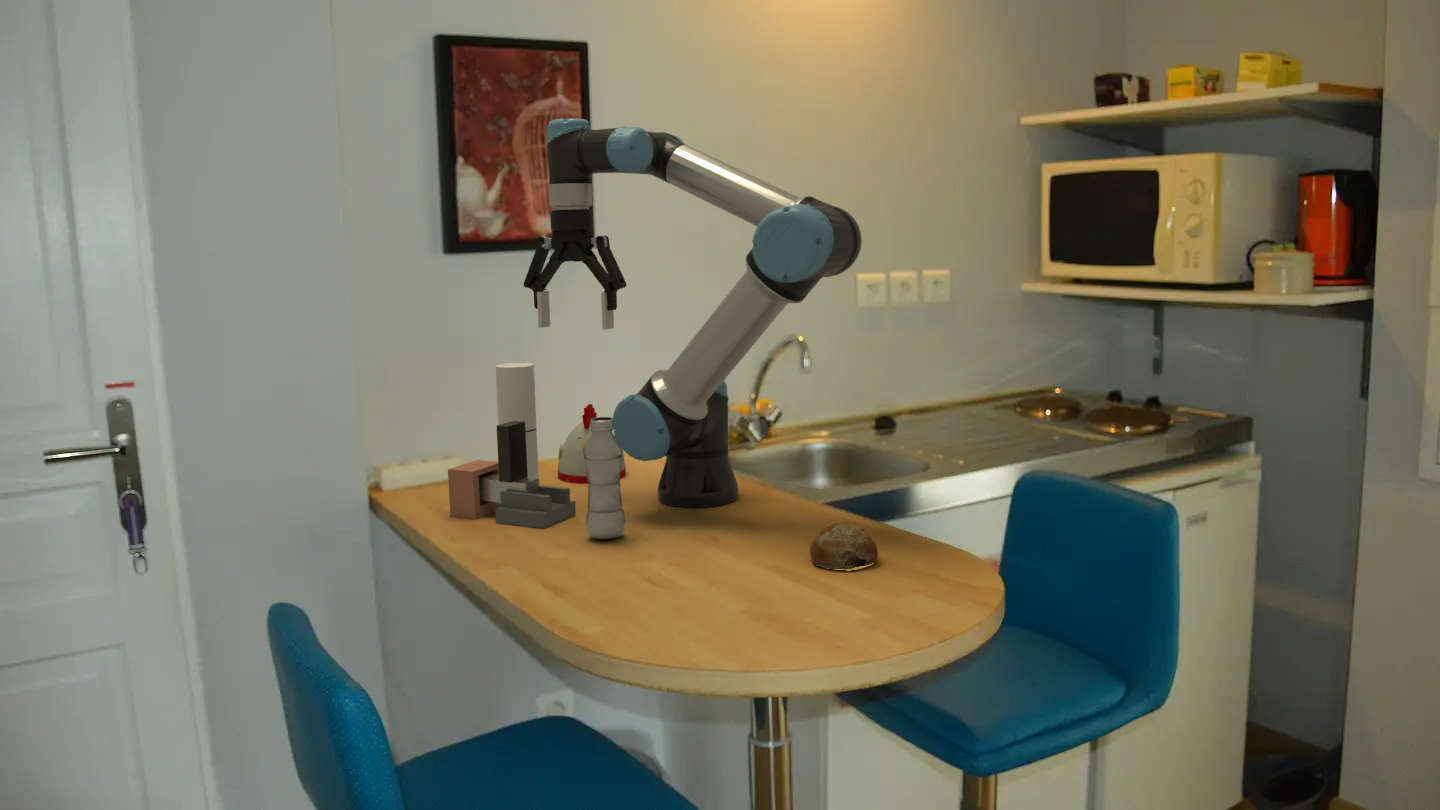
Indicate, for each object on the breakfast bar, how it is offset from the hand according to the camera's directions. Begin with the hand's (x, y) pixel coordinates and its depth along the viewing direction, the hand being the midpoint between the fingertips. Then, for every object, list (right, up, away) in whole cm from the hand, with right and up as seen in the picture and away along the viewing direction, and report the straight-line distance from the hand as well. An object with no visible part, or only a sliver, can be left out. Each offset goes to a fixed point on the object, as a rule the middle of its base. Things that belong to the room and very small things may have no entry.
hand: (575, 328), depth 203 cm
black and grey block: (-13, -31, -2) cm, 33 cm away
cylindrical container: (-13, -31, +15) cm, 37 cm away
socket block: (-18, -33, +1) cm, 38 cm away
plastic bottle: (+7, -36, -18) cm, 41 cm away
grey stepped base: (-6, -34, -5) cm, 35 cm away
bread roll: (+44, -38, -33) cm, 67 cm away
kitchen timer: (0, -29, +29) cm, 41 cm away
